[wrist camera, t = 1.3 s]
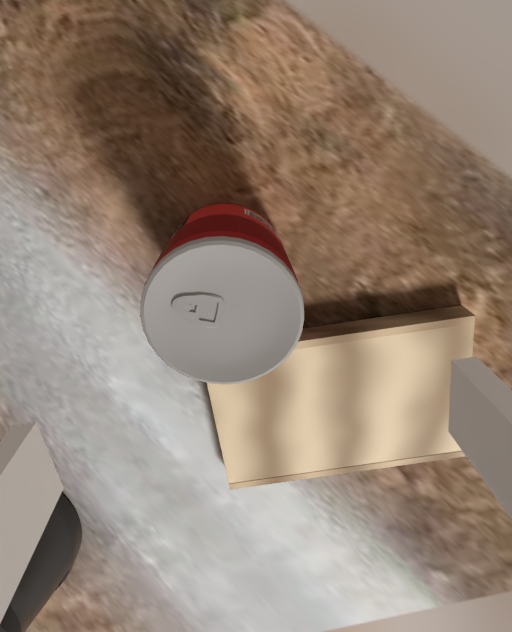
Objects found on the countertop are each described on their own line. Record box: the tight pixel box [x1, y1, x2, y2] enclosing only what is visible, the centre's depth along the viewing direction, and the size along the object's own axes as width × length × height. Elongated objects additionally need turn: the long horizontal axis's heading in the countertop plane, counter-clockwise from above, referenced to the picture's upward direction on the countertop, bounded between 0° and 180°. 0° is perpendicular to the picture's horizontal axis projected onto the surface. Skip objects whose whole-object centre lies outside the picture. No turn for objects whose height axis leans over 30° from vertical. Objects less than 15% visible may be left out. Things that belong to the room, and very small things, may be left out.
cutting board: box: [207, 305, 475, 489], centre depth 35 cm, size 20×13×2 cm, turn 98°
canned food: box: [140, 203, 304, 385], centre depth 26 cm, size 8×8×11 cm
